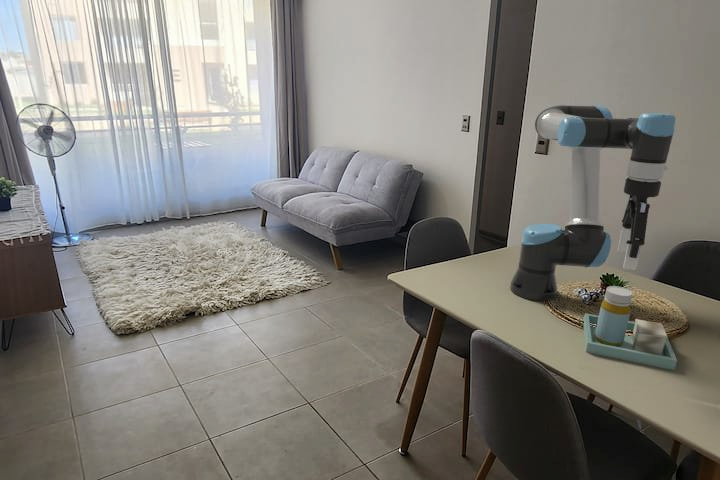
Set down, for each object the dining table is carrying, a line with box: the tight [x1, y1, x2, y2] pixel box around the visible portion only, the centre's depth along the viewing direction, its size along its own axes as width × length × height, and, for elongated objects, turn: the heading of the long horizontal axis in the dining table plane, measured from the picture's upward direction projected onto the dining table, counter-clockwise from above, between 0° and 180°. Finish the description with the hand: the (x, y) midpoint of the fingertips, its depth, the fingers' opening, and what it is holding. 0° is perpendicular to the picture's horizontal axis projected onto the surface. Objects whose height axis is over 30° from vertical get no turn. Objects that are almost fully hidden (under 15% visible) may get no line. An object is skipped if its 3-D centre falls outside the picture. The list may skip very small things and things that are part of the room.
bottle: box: [595, 285, 634, 346], centre depth 125 cm, size 7×7×15 cm
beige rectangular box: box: [631, 318, 668, 356], centre depth 123 cm, size 6×7×6 cm
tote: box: [582, 312, 678, 371], centre depth 125 cm, size 20×18×4 cm
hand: (626, 259), depth 120 cm, fingers open, 13 cm apart
